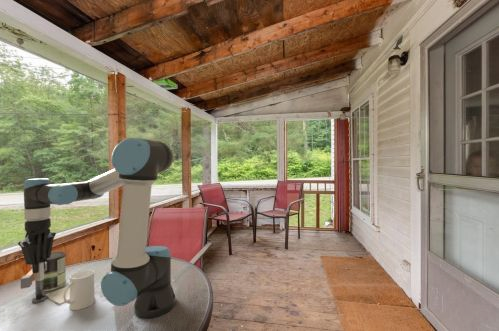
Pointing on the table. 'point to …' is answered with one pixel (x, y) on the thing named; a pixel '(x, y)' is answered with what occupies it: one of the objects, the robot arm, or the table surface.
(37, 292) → the post
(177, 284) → the table surface
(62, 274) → the coffee can
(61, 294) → the coaster
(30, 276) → the swing arm
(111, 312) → the table surface
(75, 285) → the mug
